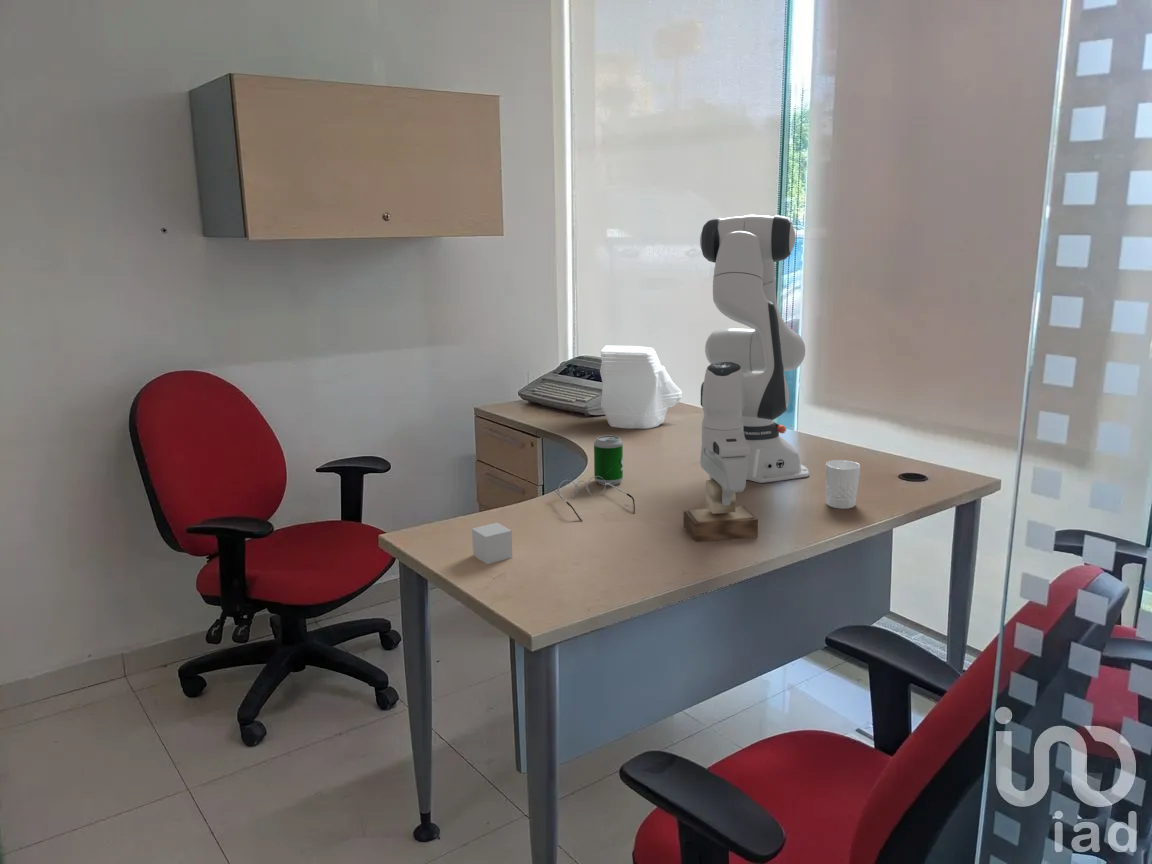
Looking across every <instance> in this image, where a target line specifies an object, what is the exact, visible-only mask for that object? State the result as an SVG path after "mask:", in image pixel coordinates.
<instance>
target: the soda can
mask: <svg viewBox="0 0 1152 864" xmlns="http://www.w3.org/2000/svg"><path fill="white" fill-rule="evenodd" d="M623 443H624V442H623V441H622V440H621V438H620V437H619V436H617V435H602V436H601V435H600V436H598V437H597V438H596V440H594V442H593V454H594V455H593V459H594V461H593V462H594V463H593V464H594V465H593V467H594V468H593V470H594V476H599V477H594V476H593V477H594V478H593V479H594V480H595V481H596V482H597V484H598V483H599V485H600V484H601V485H600V486H605V483H610V484H611V485H613V486H617V485H619V484H620V483H621V482H622V481H623V479H624V478H623V477H624V474H623V472H624V469H623V467H624V465H623V461H624V457H623V456H624V455H623V448H624V447H623V446H624V445H623ZM601 477H602V478H603V479H604V480H605V482H604V480H603V479H602V478H601ZM606 486H609V487H610V485H606Z"/></svg>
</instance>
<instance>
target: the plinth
mask: <svg viewBox="0 0 1152 864" xmlns="http://www.w3.org/2000/svg"><path fill="white" fill-rule="evenodd" d="M683 528H684V530H685V531H686V532H687V534H688V535H689V536H690V537H691V539H692V540H693V541H694V543H697V542H710V541H721V540H734V539H735V540H736V539H747V538H758V532H759V519H758V518H757V517H756V516H755V515H754V514H753V513H752V512H751V510H749V509H748V508H747V507H746V506H745V505H742V506H741V505H740V506H735V512H729V513H715V514H713V513H712V512H711V511H710V510H709V509H708V508H699V509H698V508H697V509H685V510H683Z"/></svg>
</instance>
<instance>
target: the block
mask: <svg viewBox="0 0 1152 864" xmlns="http://www.w3.org/2000/svg"><path fill="white" fill-rule="evenodd" d="M705 485H706V487H705V488H706V489H705V507H706V509H709V510H710V511H711V512H712V513H713V514H715V513H729V512H735V507H736V494H737V493H732V496H731V503H730V505H726V506H724V505H723V504H722V503H721V496H722V492H723V490H722V486H720V485H719V484H718V483H717V482H716V481H715V480H710V479H707V480H706V483H705Z"/></svg>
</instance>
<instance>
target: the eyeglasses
mask: <svg viewBox="0 0 1152 864" xmlns="http://www.w3.org/2000/svg"><path fill="white" fill-rule="evenodd" d="M594 477H599V476H593V477H591V478H590V479H589V480H588V482H586V481H584V480H579V481H578V482H576V483H575V482H574V481H573V480H570V479H564V480H563V481H561V482H560V484H559V486H558V488H557V489H555V490H554V491H555V493H556V494H557V495H558V496H559V497H560V498H561V499H562V500H563V502H565V503H566V505H568V507H570V508H571V509H572V510H573V512H574V514H575V516H576V517H577V518H578V520H579V521H580V522H582V523H583V522H584V521H583V519H582V518H581V517H580V516H579V514H578V513H577V512H576V509H575V508H574V507H573V505H572V504H571V503H569V501H567V500H566V499H565V497H563V496H562V495H561V493H560V488H561V485H562V484H563V483H564V482H567V481H569V482H572V484H574V493H573V494H572V495H571V497H572V498H574V497H575V496H576V495H577V493H578V492H579V491H580V487H579V485H578V484H579V483H580V482H582V483H585V489H586V491H587V492H588V494H589V495H594V494H595V493H592V492H591V491H590V488H589V483H590V481H591V480H592V479H594ZM601 478H602V477H601ZM602 479H603V478H602ZM603 480H604V479H603ZM604 482H605V480H604ZM606 485H610V486H611V487H612V488H613V489H616V490H617V491H619V492H621V493H624V494H625V495H626V496H628V497H629V498H631V499H632V503H633V515H635V514H636V512H635V511H636V508H635V507H636V504H635V499H634V497H633V496H632V495H631V494H630V493H628V492H625V491H624V490H622V489H620V488H618V487H616V485H611V484H610V483H605V485H604V489H603V490H602V491H601V492H600V493H599V495H601V494H602V493H604V491H605V490H606ZM610 486H609V487H610Z"/></svg>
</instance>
